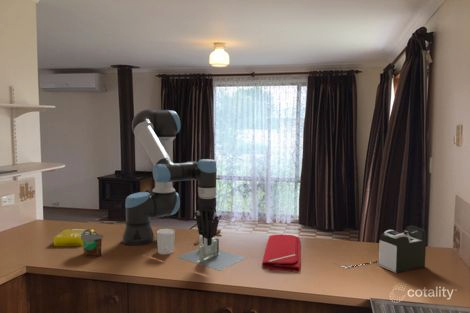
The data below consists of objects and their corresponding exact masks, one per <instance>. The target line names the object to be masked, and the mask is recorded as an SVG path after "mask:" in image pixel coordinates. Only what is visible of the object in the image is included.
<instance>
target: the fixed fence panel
mask: <svg viewBox="0 0 470 313" xmlns="http://www.w3.org/2000/svg"><path fill="white" fill-rule="evenodd" d="M198 240H199V244H198V245H199V246H198V248H199V247H200V246H204V244H203V237H202V235H199V238H198ZM213 240H216V238H215V237H212V243H213Z"/></svg>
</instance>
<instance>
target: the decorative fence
mask: <svg viewBox="0 0 470 313" xmlns="http://www.w3.org/2000/svg"><path fill="white" fill-rule="evenodd" d="M221 230H222V229H217V232H216V236H215V237H222V234H219V233H221ZM198 245H199V239H198V240H196V241H195V242H194V243H193V246H198Z"/></svg>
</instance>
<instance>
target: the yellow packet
mask: <svg viewBox="0 0 470 313" xmlns="http://www.w3.org/2000/svg"><path fill="white" fill-rule="evenodd" d="M87 229H88V228H81V229H80V228H74V229H73V228H71V229H69V228H68V229H67V228H66V229H64V230H63V231H61V232H59V233H58V234H56V235H55V236H54V237H53V246H55V247H83V239H82V238H81V234H82V232H83V231H84V230H87ZM89 229H90V231H91V232H95V230H94V229H93V228H89Z"/></svg>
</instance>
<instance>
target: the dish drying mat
mask: <svg viewBox="0 0 470 313" xmlns="http://www.w3.org/2000/svg"><path fill="white" fill-rule="evenodd" d="M301 246H302V245H301V239H300V237H298V236H296V235H293V234H272V235H269V236H268V239H267V242H266V247H265V250H264V253H263V254H264V255H263V259H262V263H261V265H262V266H263V268H265V269H268V270H270V271H271V270H272V271H281V272H282V271H284V272H297V273H298V272H300V270H301V259H302V258H301V248H302V247H301Z"/></svg>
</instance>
